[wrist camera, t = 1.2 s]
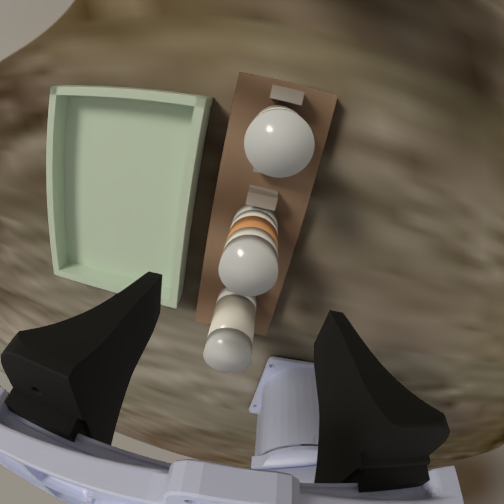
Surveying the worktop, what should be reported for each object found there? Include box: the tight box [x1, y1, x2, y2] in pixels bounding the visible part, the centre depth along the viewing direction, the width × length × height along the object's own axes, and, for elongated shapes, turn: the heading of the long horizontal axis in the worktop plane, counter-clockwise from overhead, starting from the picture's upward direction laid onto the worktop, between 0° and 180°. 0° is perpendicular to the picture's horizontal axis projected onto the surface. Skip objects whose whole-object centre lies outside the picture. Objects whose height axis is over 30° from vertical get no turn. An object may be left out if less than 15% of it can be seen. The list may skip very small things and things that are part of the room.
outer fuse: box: [244, 105, 315, 178], centre depth 16 cm, size 3×3×6 cm
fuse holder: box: [195, 72, 338, 336], centre depth 21 cm, size 19×6×2 cm, turn 168°
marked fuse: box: [218, 205, 278, 296], centre depth 19 cm, size 3×3×6 cm
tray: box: [46, 85, 213, 308], centre depth 21 cm, size 15×11×2 cm
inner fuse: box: [203, 287, 257, 373], centre depth 22 cm, size 3×3×6 cm
